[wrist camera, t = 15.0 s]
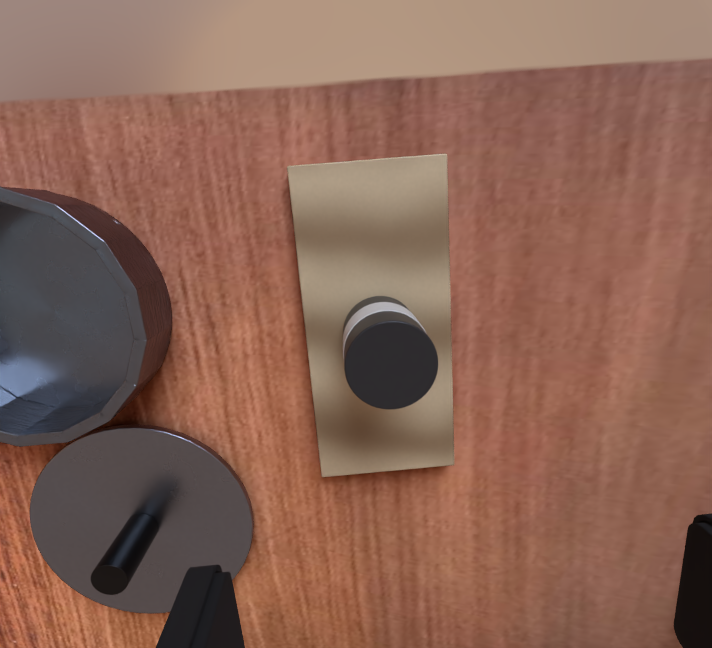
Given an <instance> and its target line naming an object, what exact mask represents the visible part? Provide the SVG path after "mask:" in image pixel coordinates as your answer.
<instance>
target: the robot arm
mask: <svg viewBox="0 0 712 648" xmlns="http://www.w3.org/2000/svg"><path fill="white" fill-rule="evenodd" d="M674 630H675V633H676V636H677V638H678V640H679V642H680V644H681V645H682V647H683V648H712V514H703V515H697V516H696V517H695V518H694V521H693V524H691V525H689V527H688V531H687V538H686V545H685V552H684V558H683V565H682V572H681V579H680V585H679V592H678V599H677V606H676V612H675V619H674ZM156 648H245V646H244V640H243V635H242V630H241V625H240V619H239V614H238V609H237V604H236V598H235V593H234V588H233V582H232V577H231V573H230V572H222V569H221V566H220V565H208V566H198V567H190V568H189V569H188V570H187V572H186V574H185V577H184V579H183V582H182V584H181V587H180V589H179V592H178V594H177V597H176V599H175V601H174V604H173V606H172V609H171V611H170V614H169V616H168V619H167V621H166V624H165V626H164V629H163V631H162V634H161V636H160V639H159V641H158V644H157V646H156Z"/></svg>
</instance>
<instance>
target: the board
mask: <svg viewBox="0 0 712 648" xmlns="http://www.w3.org/2000/svg"><path fill="white" fill-rule="evenodd" d="M287 172H288V181H289V190H290V198H291V207H292V216H293V225H294V234H295V243H296V252H297V261H298V270H299V279H300V288H301V297H302V306H303V315H304V324H305V333H306V342H307V350H308V359H309V368H310V377H311V386H312V395H313V404H314V413H315V422H316V431H317V440H318V449H319V458H320V467H321V476H322V477H330V476H341V475H352V474H363V473H374V472H384V471H395V470H406V469H417V468H428V467H439V466H450V465H454V427H453V385H452V343H451V301H450V259H449V217H448V175H447V154H434V155H421V156H409V157H396V158H383V159H371V160H358V161H345V162H333V163H320V164H307V165H295V166H287ZM374 296H387V297H391V298H394V299H396V300H398V301H400V302H402V303H403V304H404V305H405V306H406V307H407V308H408V309H409V310H410V312H411V313H412V314H413V315H414V316H415V317H416V318H417V320H418V321H419V323H420V324H421V325H422V327H423V328H424V330H425V331H426V333H427V335H428V336H429V338H430V339H431V340H432V342H433V344H434V346H435V348H436V351H437V355H438V371H437V376H436V379H435V381H434V383H433V385H432V387H431V388H430V390H429V391H428V392H427V393H426V394H425V395H424V396H423V397H422V398H421V399H420V400H418V401H417V402H415V403H414V404H412V405H409V406H407V407H404V408H400V409H391V410H388V409H380V408H376V407H373V406H370V405H368V404H366V403H365V402H363V401H362V400H360V399H359V398H358V397H357V396H356V395H355V394H354V393H353V391H352V390H351V388H350V387H349V385H348V382H347V380H346V376H345V371H344V359H343V327H344V322H345V319H346V317H347V315H348V313H349V312H350V311H351V309H352V308H353V307H354V306H355V305H356V304H358V303H359V302H361V301H362V300H364V299H367V298H370V297H374Z"/></svg>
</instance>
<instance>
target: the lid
mask: <svg viewBox="0 0 712 648" xmlns="http://www.w3.org/2000/svg"><path fill="white" fill-rule="evenodd" d="M30 523H31V528H32V533H33V537H34V539H35V542H36V544H37V547H38V549H39V551H40V553H41V554H42V556H43V558H44V560H45V561H46V562H47V564H48V565H49V566H50V568H51V569H52V570H53V571H54V572H55V573H56V574H57V575H58V576H59V577H60V578H61V580H63V581H64V582H65V583H66V584H68V585H69V586H70V587H71V588H73V589H74V590H76V591H77V592H79V593H80V594H82V595H83V596H85V597H87V598H89V599H91V600H93V601H95V602H98V603H100V604H103V605H105V606H108V607H111V608H115V609H119V610H123V611H129V612H135V613H166V612H170V611H171V609H172V606H173V604H174V601H175V599H176V597H177V594H178V592H179V589H180V587H181V584H182V582H183V579H184V577H185V574H186V572H187V570H188V569H189V568H190V567H198V566H208V565H220V566H221V569H222V572H230V573H231V577H232V580H233V579H234V577H235V576H236V575H237V574H238V573H239V571H240V569H241V568H242V566H243V564H244V563H245V560H246V558H247V555H248V553H249V550H250V546H251V542H252V538H253V528H254V520H253V511H252V507H251V502H250V499H249V496H248V494H247V491H246V489H245V487H244V485H243V483H242V482H241V480H240V478H239V477H238V475H237V474H236V473H235V471H234V470H233V469H232V467H231V466H230V465H229V464H228V463H227V462H226V461H225V460H224V459H223V458H222V457H221V456H220V455H218V454H217V453H216V452H215V451H213V450H212V449H211V448H209V447H208V446H206V445H205V444H203V443H201V442H200V441H198V440H196V439H194V438H192V437H190V436H187V435H185V434H183V433H180V432H177V431H174V430H171V429H167V428H162V427H157V426H151V425H140V424H135V425H119V426H112V427H107V428H103V429H100V430H96V431H93V432H91V433H88V434H86V435H84V436H81V437H80V438H78V439H76V440H75V441H73V442H71V443H70V444H68V445H67V446H66V447H64V448H63V449H62V450H61V451H60V452H58V453H57V454H56V455H55V456H54V457H53V458H52V459H51V460H50V461H49V463H48V464H47V465H46V466H45V468H44V469H43V471H42V472H41V474H40V475H39V477H38V479H37V482H36V484H35V486H34V489H33V493H32V497H31V503H30Z"/></svg>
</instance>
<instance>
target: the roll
mask: <svg viewBox="0 0 712 648" xmlns="http://www.w3.org/2000/svg"><path fill="white" fill-rule="evenodd" d="M343 359H344V371H345V376H346V380H347V382H348V385H349V387H350V388H351V390H352V391H353V393H354V394H355V395H356V396H357V397H358V398H359V399H360V400H362V401H363V402H365V403H366V404H368V405H370V406H373V407H376V408H380V409H388V410H391V409H400V408H404V407H407V406H409V405H412V404H414V403H415V402H417V401H418V400H420V399H421V398H422V397H423V396H424V395H425V394H426V393H427V392H428V391H429V390H430V388H431V387H432V385H433V383H434V381H435V379H436V376H437V371H438V355H437V351H436V348H435V346H434V344H433V342H432V340H431V339H430V338H429V336H428V335H427V333H426V331H425V330H424V328H423V327H422V325H421V324H420V323H419V321H418V320H417V318H416V317H415V316H414V315H413V314H412V313H411V312H410V310H409V309H408V308H407V307H406V306H405V305H404V304H403V303H402V302H400V301H398V300H396V299H394V298H391V297H387V296H374V297H370V298H367V299H364V300H362V301H361V302H359V303H358V304H356V305H355V306H354V307H353V308H352V309H351V311H350V312H349V313H348V315H347V317H346V319H345V322H344V327H343Z"/></svg>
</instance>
